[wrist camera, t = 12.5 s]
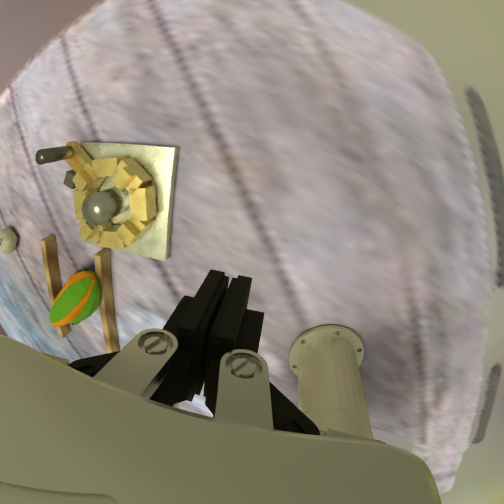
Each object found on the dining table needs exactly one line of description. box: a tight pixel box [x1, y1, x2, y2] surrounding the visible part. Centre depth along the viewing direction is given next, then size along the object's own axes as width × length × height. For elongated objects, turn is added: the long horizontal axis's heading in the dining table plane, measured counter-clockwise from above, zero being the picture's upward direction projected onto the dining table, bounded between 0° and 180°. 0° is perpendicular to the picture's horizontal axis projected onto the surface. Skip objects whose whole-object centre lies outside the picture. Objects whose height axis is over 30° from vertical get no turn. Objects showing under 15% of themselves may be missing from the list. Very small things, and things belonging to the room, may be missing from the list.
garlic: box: [0, 228, 18, 254], centre depth 43 cm, size 6×5×5 cm
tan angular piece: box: [36, 141, 157, 249], centre depth 34 cm, size 18×12×8 cm
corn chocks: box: [41, 235, 120, 353], centre depth 46 cm, size 22×14×3 cm, turn 171°
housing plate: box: [64, 142, 179, 261], centre depth 36 cm, size 16×17×8 cm
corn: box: [49, 270, 101, 327], centre depth 44 cm, size 7×8×20 cm
